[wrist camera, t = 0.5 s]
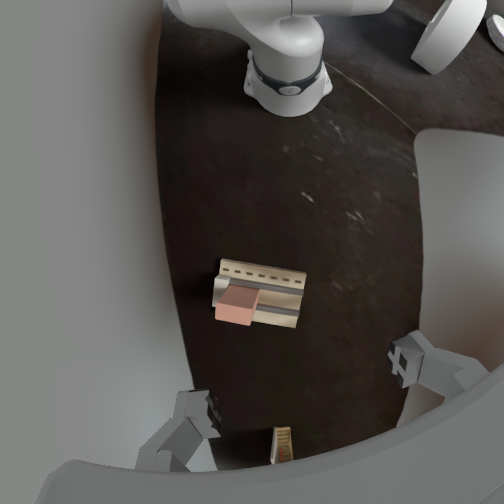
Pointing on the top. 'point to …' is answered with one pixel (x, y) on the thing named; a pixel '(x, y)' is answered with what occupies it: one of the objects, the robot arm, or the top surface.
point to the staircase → (281, 446)
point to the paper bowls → (496, 30)
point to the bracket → (448, 33)
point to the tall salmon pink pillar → (237, 304)
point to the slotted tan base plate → (264, 290)
